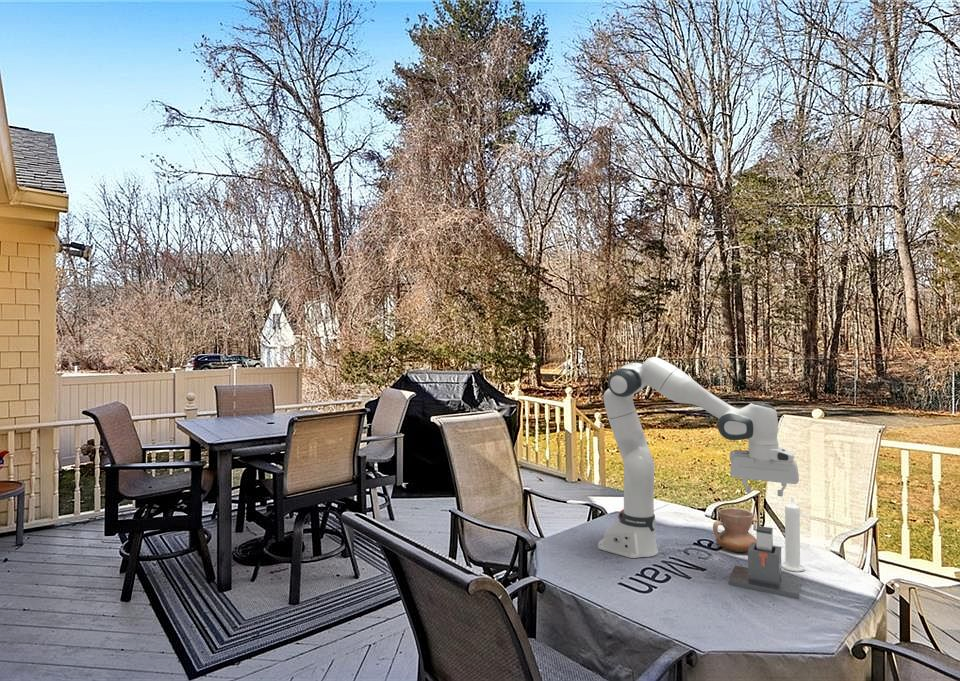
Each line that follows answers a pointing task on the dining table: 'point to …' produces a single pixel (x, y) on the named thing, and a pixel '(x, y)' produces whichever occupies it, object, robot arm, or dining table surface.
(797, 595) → the stand housing
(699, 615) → the dining table surface
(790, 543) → the candle
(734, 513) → the ceramic jug
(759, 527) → the column
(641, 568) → the dining table surface
